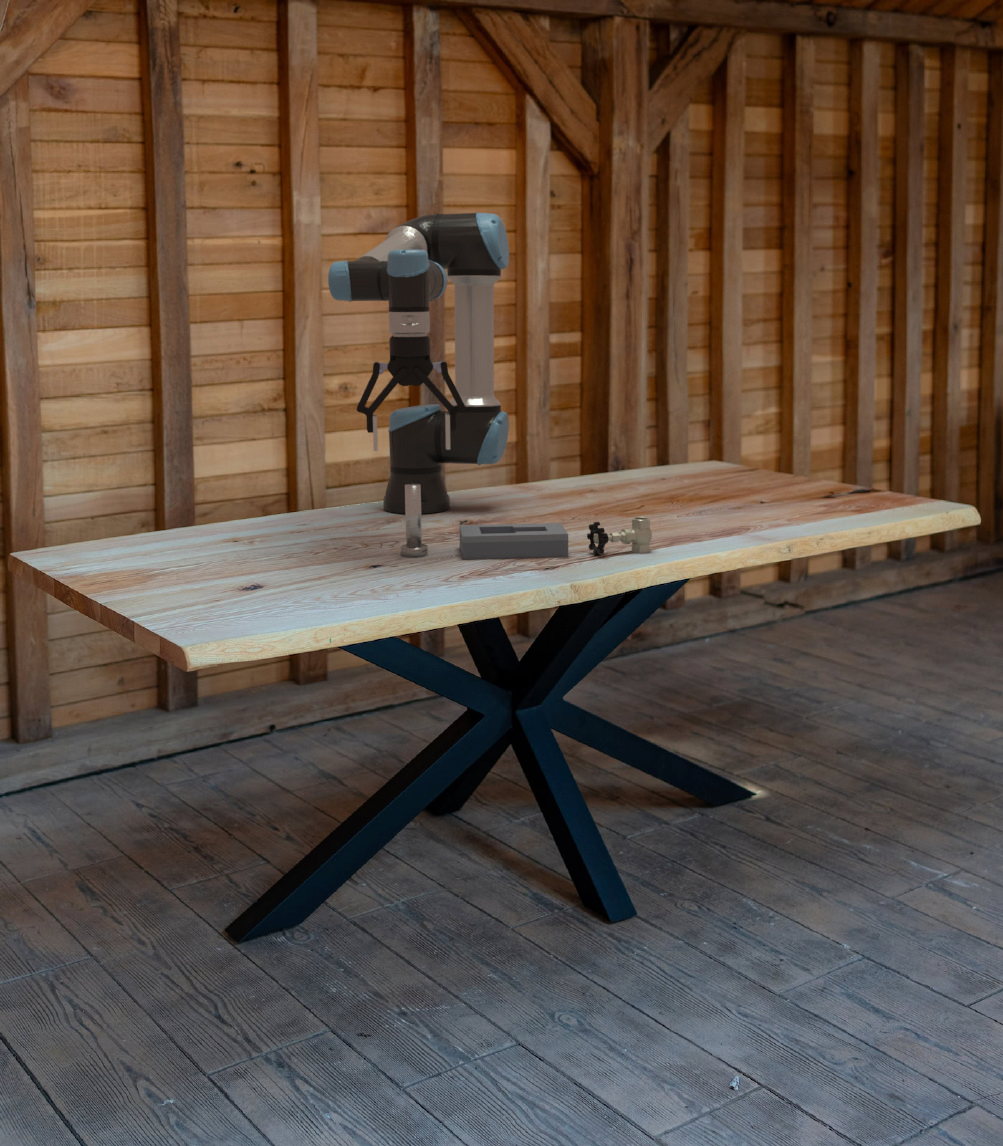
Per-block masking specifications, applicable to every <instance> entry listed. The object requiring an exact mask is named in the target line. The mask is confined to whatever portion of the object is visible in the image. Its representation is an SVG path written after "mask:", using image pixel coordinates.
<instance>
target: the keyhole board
mask: <svg viewBox="0 0 1003 1146" xmlns="http://www.w3.org/2000/svg"><path fill="white" fill-rule="evenodd" d="M458 527H459V533H458V534H459V550H460V553H461V557H462V560H489V559H490V560H491V559H492V560H493V559H496V560H497V559H526V558H527V559H532V558H533V559H535V558H568V557H569V533H568V531H567V530H566V528H565V527H564V526H563V523H561V522H551V523H550V522H548V523H547V522H545V523H544V522H538V523H509V524H508V523H506V524H504V523H503V524H499V523H498V524H495V523H494V524H463V525H461V524H460V525H459V526H458Z"/></svg>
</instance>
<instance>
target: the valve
mask: <svg viewBox="0 0 1003 1146" xmlns="http://www.w3.org/2000/svg"><path fill="white" fill-rule="evenodd" d="M631 522H632V523H631V529H630V528H622V529H621V531H620V532H610V534H609V535H608V533H607V532H606V530H605V528H604V527H599V526H601V523H600V521H594V522H593V523H591V524H588V525H589V526H588V529H589V531H590V532H589V533H587V534H586V537H587V540H589V542H590V543H589V544H588V550H589V551H592V555H593V556H594V557H599V556H600V555H603V554H605V546H606V544H608V542H610V543H613V544H614V543H618V542H620V543H622V544H623V545H630V544H631V553H634V554H648V553H650V543H651V540H652V537H653V536H652V535H653V533H652V530H651V527H650V526H651V517H648V516H634V517H632V519H631ZM596 545H597V546H596Z"/></svg>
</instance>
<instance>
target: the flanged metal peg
mask: <svg viewBox="0 0 1003 1146" xmlns="http://www.w3.org/2000/svg"><path fill="white" fill-rule="evenodd" d="M405 513H406V514H405V544H402V545H400V556H401V557H404V558H411V559H412V558H413V559H414V558H422V557H427V556H428V555H429V550H428V549H429V548H428V547H429V546H428V545H427V544H423V537H422V536H423V535H422V534H423V533H422V532H423V531H422V529H423V527H422V514H421V485H420V484H406V485H405Z"/></svg>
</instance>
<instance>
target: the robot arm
mask: <svg viewBox="0 0 1003 1146" xmlns="http://www.w3.org/2000/svg"><path fill="white" fill-rule="evenodd" d="M507 234H508V233H507V231H506V227H505V224H504V222H503V220H502V218H501V217H500V216H499V215H497V214H496V213H485V212H472V213H469V212H468V213H467V212H466V213H464V212H463V213H430V214H426V215H421V216H418V217H415V218H412V219H409V220H407V221H405V222H404V223H401V224H399V225H398V226H396V227H394V228H393V229H391V230H390V231H389V232H388V234H387V235H386V237H385V239H384V240H383V241H382V242H380V243H379V244H378V245H376V246H375V247H373V248H372V249H370V250H368V251H367V252H366V253H364V254H362V256H360V257H359V258H357V259H356V260H346V259H345V260H343V261H342V260H341V261H334V262H333V263H332V264H331V265H330V266H329V270H328V276H327V277H328V278H327V282H328V290H329V293H330V295H331V297H332V298H333V300H335V301H343V302H344V301H346V302H348V303H349V302H374V301H377V302H380V301H383V302H388V330H389V333H390V334H392V335H391V336H390V337H389V339H388V340H389V341H388V342H389V345H388V346H389V361H388V363H386V362H379V361H377V360H376V361H374V362H373V365H372V374H371V376H370V378H369V380H368V383H367V384H366V387H365V388H364V391H363V393H362V395H361V398H360V399H359V402H358V404H357V405H356V411H357V412H358V413H361V414H364V415H365V416H366V431H367V433H372V434H373V440H372V441H373V452H378V451H379V450H378V449H379V447H378V445H379V444H378V414H374V413H375V412H376V410H377V409H378V408H379V407H380V405H382V403H383V402H384V401H385V399H387V397H388V396H389V395H390V394H391V392H392V391H393V390H394V389H395V387H396V386H397V385H400V386H401V387H408V386H413V387H420V386H422V385H423V384H424V385H425V386H426V387H427V389H429V391H430V392H431V393H432V394H433V396H434V397H436V399H437V400H438V401H439V402H440V404H442V406H443V407H444V408H445V409H446V410H442V406H441V405H440V404H438V403H432V404H431V403H430V404H421V405H415V406H414V405H413V406H408V407H402V408H398V409H395V410H393V411H391V413H390V415H389V417H388V418H389V421H388V423H389V424H388V425H389V428H388V430H387V431H388V437H389V438H388V439H389V440H388V441H389V443H388V445H389V446H388V447H389V468H390V469H389V471H390V473H389V479H388V481H387V485H386V490H385V494H384V497H383V500H382V502H383V510H384V511H386V512H390V513H395V514H405V515H406V513H405V485H406V484H420V485H421V515H422V514H431V513H432V514H433V513H435V514H436V513H440V512H445V511H447V510H450V508H451V499H450V495H449V494H448V491H447V487H446V484H445V483H446V482H445V480H444V477H443V474H442V473H443V471H442V469H443V468H442V464H458V465H459V464H461V465H465V464H466V465H477V466H481V465H495V464H497V463H499V462H500V461H501V459H502V458H503V456H504V454H505V451H506V447H507V443H508V438H509V431H510V421H509V414H508V413H507V412H505V411H503V410H502V404H501V402H500V400H498V399H497V398H496V395H495V328H494V327H495V307H494V306H495V292H494V291H495V285H496V283H497V282H498V281H499V280H500V279H501V278H502V276H501V275H502V274H501V273H502V270H504V269H506V268H508V267H509V263H510V246H509V240H508V235H507ZM445 270H447V272H446V271H445ZM448 280H450V282H451V283H453V285H454V377H455V378H454V381H453V380H452V378H451V376H450V373H449V369H448V368H449V367H448V363H447V361H445V360H441V361H439V362H437V361H436V362H432V361H431V338H430V337H429V336H428V335H427V334H429V333H430V331H431V327H430V325H431V323H430V321H431V320H430V316H431V314H430V302H433V300H434V301H435V300H436V299H439V298H440V297H441V296H443V294H444V292H445V291H446V290H447V287H448ZM433 369H434V370H436V372H437V373H438V374H441V376H442V378H443V380H444V382H445V384H446V386H447V388H448V390H449V392H450V393H451V394H450V395H452V397H453V398H452V399H450V401H449V400H448V398H446V396H445V395H444V394H443V393H442V391H441V390H440V389H439V388H438V387H437V386H436V385H435V384H434V382H433V381H432V380H431V379H430V378H429V375H430V374H431V373H432V372H433ZM386 370H388V372H389V373H390V375H391V376H392V378H391V379H390V380H389V381H388V382H387V384H386V385H385V386H384V388H383V389H382V391H381V392H380V393H379V394H378V395H377V396H376V398H375V399H374V400H373V402H372V403H371V404H370V405H369V407H367V406H366V404H367V403H368V400H369V398H370V396H371V394H372V391H373V389H374V388H375V385H376V383H377V381H378V380H379V375H383V374H384V372H385V371H386ZM454 383H455V384H454Z"/></svg>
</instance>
